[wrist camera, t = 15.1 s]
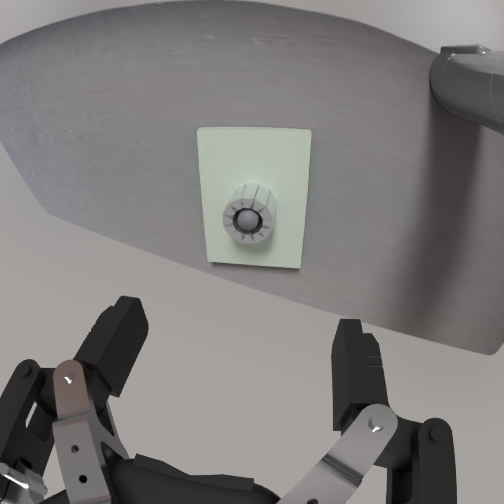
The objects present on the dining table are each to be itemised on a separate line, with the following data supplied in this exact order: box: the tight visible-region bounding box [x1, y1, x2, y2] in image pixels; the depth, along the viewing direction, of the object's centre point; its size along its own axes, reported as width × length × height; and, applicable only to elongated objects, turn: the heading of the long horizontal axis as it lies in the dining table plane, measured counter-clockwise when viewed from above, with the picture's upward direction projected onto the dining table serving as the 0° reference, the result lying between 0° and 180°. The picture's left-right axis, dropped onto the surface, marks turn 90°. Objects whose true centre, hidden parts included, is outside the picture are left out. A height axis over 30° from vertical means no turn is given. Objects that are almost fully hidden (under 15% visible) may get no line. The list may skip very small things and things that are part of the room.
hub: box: [222, 183, 276, 244], centre depth 37 cm, size 6×6×5 cm
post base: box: [197, 127, 311, 268], centre depth 38 cm, size 20×14×7 cm
